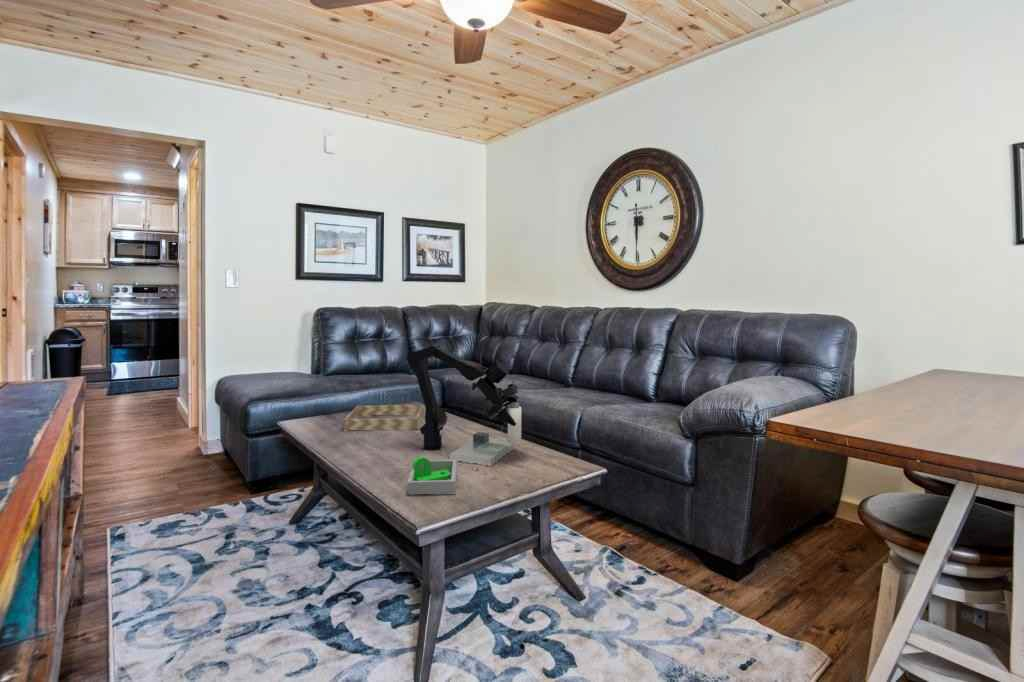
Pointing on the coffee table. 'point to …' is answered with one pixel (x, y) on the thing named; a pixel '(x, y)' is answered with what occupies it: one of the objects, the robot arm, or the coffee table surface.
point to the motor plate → (482, 450)
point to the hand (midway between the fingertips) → (517, 423)
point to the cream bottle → (515, 431)
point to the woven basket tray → (384, 424)
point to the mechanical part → (428, 471)
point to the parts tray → (434, 485)
